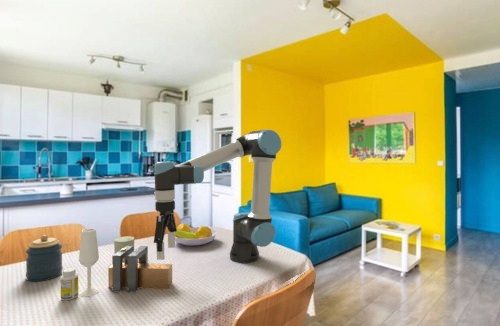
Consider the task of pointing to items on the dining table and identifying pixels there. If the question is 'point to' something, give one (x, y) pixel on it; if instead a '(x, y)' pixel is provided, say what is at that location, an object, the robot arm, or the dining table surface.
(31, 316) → the dining table surface
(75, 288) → the supplement bottle
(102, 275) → the dining table surface
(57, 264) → the canister
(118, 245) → the can
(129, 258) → the collar
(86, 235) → the champagne flute
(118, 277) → the collar
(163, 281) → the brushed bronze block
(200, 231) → the fruit bowl
